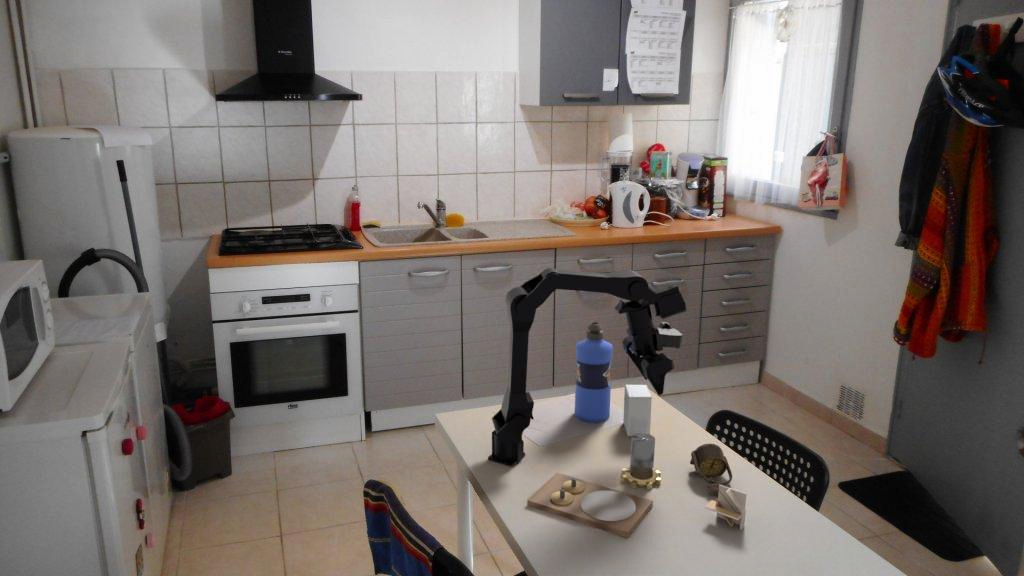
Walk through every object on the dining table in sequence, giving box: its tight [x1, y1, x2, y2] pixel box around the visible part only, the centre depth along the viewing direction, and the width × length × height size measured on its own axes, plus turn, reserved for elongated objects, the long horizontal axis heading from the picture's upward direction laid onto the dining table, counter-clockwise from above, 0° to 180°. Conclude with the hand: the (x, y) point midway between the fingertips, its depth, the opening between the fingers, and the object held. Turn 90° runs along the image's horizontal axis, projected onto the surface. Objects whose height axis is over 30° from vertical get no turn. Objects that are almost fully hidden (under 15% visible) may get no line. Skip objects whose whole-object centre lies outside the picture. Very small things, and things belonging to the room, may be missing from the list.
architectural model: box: [704, 485, 747, 531], centre depth 147 cm, size 3×7×7 cm, turn 52°
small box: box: [623, 384, 653, 437], centre depth 186 cm, size 8×6×10 cm
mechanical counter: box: [689, 443, 733, 496], centre depth 163 cm, size 7×13×10 cm
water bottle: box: [574, 321, 614, 424], centre depth 192 cm, size 9×9×25 cm
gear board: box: [526, 472, 654, 539], centre depth 153 cm, size 22×13×3 cm, turn 59°
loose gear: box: [621, 433, 662, 490], centre depth 163 cm, size 9×9×10 cm
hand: (653, 386), depth 174 cm, fingers open, 9 cm apart
